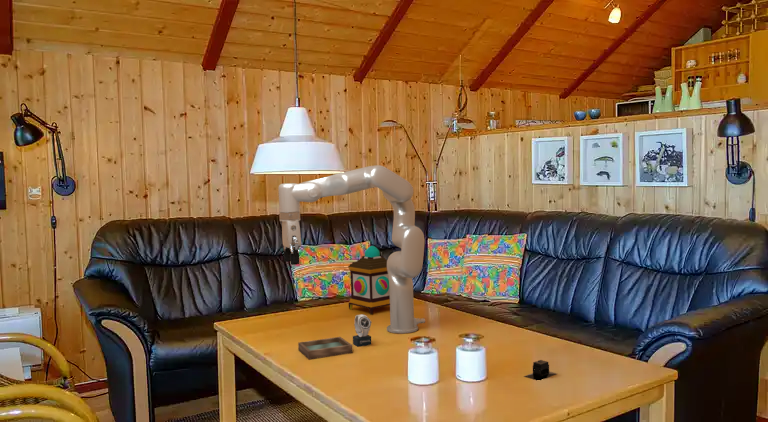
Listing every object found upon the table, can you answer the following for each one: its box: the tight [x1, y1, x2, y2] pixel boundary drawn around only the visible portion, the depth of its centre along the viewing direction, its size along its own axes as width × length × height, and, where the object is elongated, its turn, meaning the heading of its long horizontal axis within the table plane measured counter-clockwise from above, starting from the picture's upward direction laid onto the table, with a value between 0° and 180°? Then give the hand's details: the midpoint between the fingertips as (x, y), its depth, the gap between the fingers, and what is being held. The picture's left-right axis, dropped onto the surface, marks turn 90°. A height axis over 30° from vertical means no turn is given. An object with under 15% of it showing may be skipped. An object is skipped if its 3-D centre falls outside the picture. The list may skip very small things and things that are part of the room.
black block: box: [523, 359, 557, 381], centre depth 181 cm, size 12×7×5 cm, turn 128°
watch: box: [352, 314, 372, 348], centre depth 221 cm, size 6×8×11 cm
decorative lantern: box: [347, 245, 390, 316], centre depth 281 cm, size 20×20×30 cm
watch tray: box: [297, 336, 353, 360], centre depth 214 cm, size 16×13×3 cm
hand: (291, 263), depth 222 cm, fingers open, 9 cm apart
